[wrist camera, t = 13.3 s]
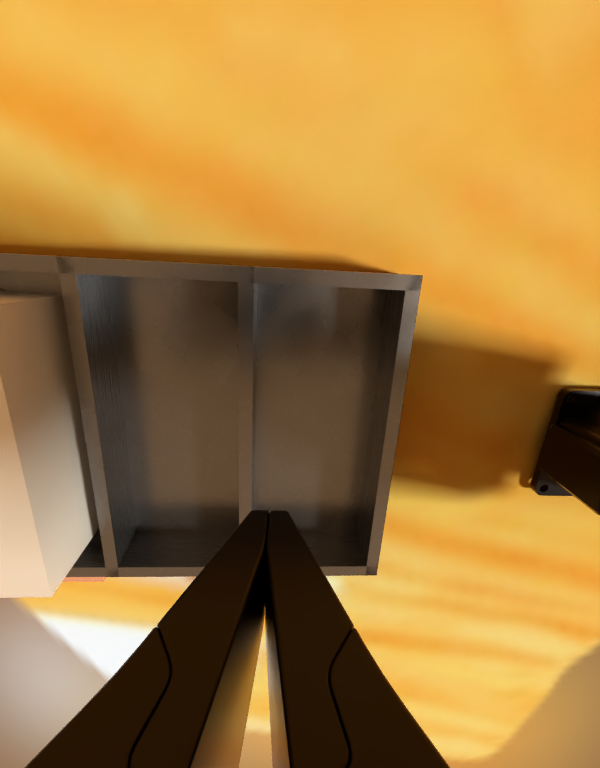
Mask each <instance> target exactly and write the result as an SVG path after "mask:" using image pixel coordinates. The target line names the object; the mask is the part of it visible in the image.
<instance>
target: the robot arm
mask: <svg viewBox="0 0 600 768" xmlns="http://www.w3.org/2000/svg"><path fill="white" fill-rule="evenodd" d="M570 396H571V398H570V399H569V400H568V398H569V397H570ZM567 400H568V401H567ZM542 485H543V486H542ZM541 486H542V487H541ZM531 488H532V490H534V491H535V492H536V493H537V494H538V495H545V496H574V497H576V498H577V499H578V500H580V501H581V502H582V503H583V504H585V505H586V506H587V507H589V508H590V509H591V510H592V511H594V512H595V513H596V514H598V515H600V389H582V388H566V389H564V390H562V391H561V392H560V393H559V395H558V397H557V400H556V403H555V407H554V410H553V413H552V417H551V420H550V423H549V427H548V430H547V433H546V437H545V440H544V443H543V447H542V450H541V453H540V457H539V460H538V463H537V467H536V470H535V473H534V476H533V480H532V483H531ZM264 616H265V627H266V648H267V667H268V686H269V705H270V724H271V743H272V761H273V768H450V767H449V766H448V764H447V763H446V761H445V760H444V759H443V757H442V756H441V754H440V753H439V752H438V750H437V749H436V748H435V746H434V745H433V743H432V742H431V741H430V739H429V738H428V737H427V735H426V734H425V733H424V731H423V730H422V728H421V727H420V726H419V724H418V723H417V722H416V720H415V719H414V717H413V716H412V715H411V713H410V712H409V711H408V709H407V708H406V706H405V705H404V703H403V702H402V701H401V699H400V698H399V696H398V695H397V693H396V692H395V691H394V689H393V688H392V686H391V685H390V683H389V682H388V680H387V679H386V678H385V676H384V675H383V673H382V671H381V670H380V668H379V667H378V665H377V663H376V662H375V660H374V658H373V657H372V655H371V654H370V652H369V650H368V649H367V647H366V645H365V644H364V642H363V640H362V638H361V637H360V635H359V633H358V631H357V630H356V629H355V628H354V625H353V623H352V621H351V620H350V618H349V616H348V614H347V613H346V611H345V609H344V608H343V606H342V604H341V602H340V601H339V599H338V597H337V595H336V594H335V592H334V590H333V588H332V587H331V585H330V583H329V582H328V580H327V578H326V576H325V575H324V573H323V571H322V569H321V568H320V566H319V564H318V562H317V561H316V559H315V557H314V556H313V554H312V552H311V550H310V549H309V547H308V545H307V543H306V542H305V540H304V538H303V536H302V535H301V533H300V531H299V530H298V528H297V526H296V524H295V523H294V521H293V519H292V517H291V516H290V514H289V512H288V511H286V510H272V511H271V512H270V514H269V511H268V510H252V511H250V513H249V514H248V515H247V516H246V517H245V519H244V520H243V521H242V522H241V524H240V525H239V526H238V527H237V528H236V530H235V531H234V532H233V533H232V534H231V536H230V537H229V538H228V539H227V541H226V542H225V543H224V544H223V545H222V547H221V548H220V549H219V550H218V551H217V553H216V554H215V555H214V556H213V557H212V559H211V560H210V561H209V562H208V564H207V565H206V566H205V567H204V568H203V570H202V571H201V572H200V573H199V574H198V576H197V577H196V578H195V579H194V581H193V582H192V583H191V584H190V585H189V587H188V588H187V589H186V590H185V591H184V593H183V594H182V595H181V596H180V598H179V599H178V600H177V601H176V602H175V604H174V605H173V606H172V607H171V608H170V610H169V611H168V612H167V613H166V615H165V616H164V617H163V618H162V619H161V621H160V622H159V623H158V625H157V627H155V628H154V629H153V630H152V631H151V632H150V634H149V635H148V636H147V637H146V638H145V640H144V641H143V642H142V643H141V645H140V646H139V647H138V648H137V649H136V650H135V652H134V653H133V654H132V655H131V656H130V657H129V658H128V660H127V661H126V662H125V663H124V664H123V665H122V667H121V668H120V669H119V670H118V671H117V672H116V673H115V675H114V676H113V677H112V678H111V679H110V680H109V681H108V682H107V683H106V684H105V685H104V686H103V687H102V688H101V689H100V691H99V692H98V693H97V694H96V695H95V696H94V697H93V698H92V699H91V700H90V701H89V702H88V703H87V704H86V705H85V706H84V708H82V710H81V711H80V712H79V713H78V714H77V715H76V716H75V717H74V718H73V719H72V720H71V721H70V722H69V723H68V724H67V725H66V726H65V727H64V728H63V729H62V730H61V731H60V732H59V733H58V734H57V735H56V736H55V737H54V738H53V739H52V740H51V741H50V742H49V743H48V744H47V745H46V746H45V747H44V748H43V749H42V750H41V751H40V752H39V753H38V754H37V755H36V756H35V758H34V759H32V760H31V761H30V763H29V764H28V765H27V766H26V767H25V768H238V767H239V762H240V756H241V750H242V745H243V739H244V733H245V728H246V722H247V716H248V710H249V705H250V699H251V693H252V687H253V682H254V676H255V670H256V665H257V659H258V653H259V647H260V642H261V636H262V630H263V623H264Z"/></svg>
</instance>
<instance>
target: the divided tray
mask: <svg viewBox="0 0 600 768" xmlns="http://www.w3.org/2000/svg"><path fill="white" fill-rule="evenodd" d="M422 276H423V275H409V274H393V273H374V272H355V271H336V270H317V269H298V268H280V267H261V266H242V265H223V264H204V263H186V262H167V261H148V260H129V259H110V258H92V257H73V256H54V255H35V254H16V253H0V291H20V292H42V293H62V296H63V302H64V308H65V315H66V321H67V327H68V334H69V340H70V346H71V353H72V359H73V365H74V372H75V378H76V384H77V390H78V397H79V403H80V409H81V416H82V422H83V428H84V435H85V441H86V447H87V454H88V460H89V466H90V473H91V479H92V485H93V491H94V498H95V504H96V510H97V517H98V523H99V529H98V530H97V532H96V533H95V535H94V536H93V538H92V539H91V540H90V542H89V543H88V545H87V546H86V548H85V549H84V551H83V552H82V554H81V555H80V556H79V558H78V559H77V561H76V562H75V564H74V565H73V567H72V568H71V569H70V571H69V572H68V574H67V575H66V577H65V578H64V580H63V581H62V582H104V580H105V578H106V577H174V576H198V574H199V573H200V572H201V571H202V570H203V568H204V567H205V566H206V565H207V564H208V562H209V561H210V560H211V559H212V557H213V556H214V555H215V554H216V553H217V551H218V550H219V549H220V548H221V547H222V545H223V544H224V543H225V542H226V541H227V539H228V538H229V537H230V536H231V534H232V533H233V532H234V531H235V530H236V528H237V527H238V526H239V525H240V524H241V522H242V521H243V520H244V519H245V517H246V516H247V515H248V514H249V513H250V511H252V510H268V511H269V514H270V512H271V511H272V510H286V511H288V512H289V514H290V516H291V517H292V519H293V521H294V523H295V524H296V526H297V528H298V530H299V531H300V533H301V535H302V536H303V538H304V540H305V542H306V543H307V545H308V547H309V549H310V550H311V552H312V554H313V556H314V557H315V559H316V561H317V562H318V564H319V566H320V568H321V569H322V571H323V573H324V575H325V576H341V575H377V569H378V562H379V556H380V549H381V543H382V536H383V530H384V523H385V517H386V510H387V504H388V497H389V491H390V484H391V478H392V471H393V465H394V458H395V452H396V445H397V439H398V432H399V426H400V419H401V413H402V406H403V400H404V393H405V387H406V380H407V374H408V367H409V361H410V354H411V348H412V341H413V335H414V328H415V322H416V315H417V309H418V302H419V296H420V289H421V283H422Z"/></svg>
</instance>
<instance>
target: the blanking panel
mask: <svg viewBox="0 0 600 768" xmlns="http://www.w3.org/2000/svg"><path fill="white" fill-rule="evenodd" d="M98 529H99V523H98V517H97V510H96V504H95V498H94V491H93V485H92V479H91V473H90V466H89V460H88V454H87V447H86V441H85V435H84V428H83V422H82V416H81V409H80V403H79V397H78V390H77V384H76V378H75V372H74V365H73V359H72V353H71V346H70V340H69V334H68V327H67V321H66V315H65V308H64V302H63V296H62V293H42V292H20V291H0V597H1V598H6V597H7V598H12V597H52V596H53V594H54V593H55V591H56V590H57V588H58V587H59V585H60V584H61V583H62V581H63V580H64V578H65V577H66V575H67V574H68V572H69V571H70V569H71V568H72V567H73V565H74V564H75V562H76V561H77V559H78V558H79V556H80V555H81V554H82V552H83V551H84V549H85V548H86V546H87V545H88V543H89V542H90V540H91V539H92V538H93V536H94V535H95V533H96V532H97V530H98Z"/></svg>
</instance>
